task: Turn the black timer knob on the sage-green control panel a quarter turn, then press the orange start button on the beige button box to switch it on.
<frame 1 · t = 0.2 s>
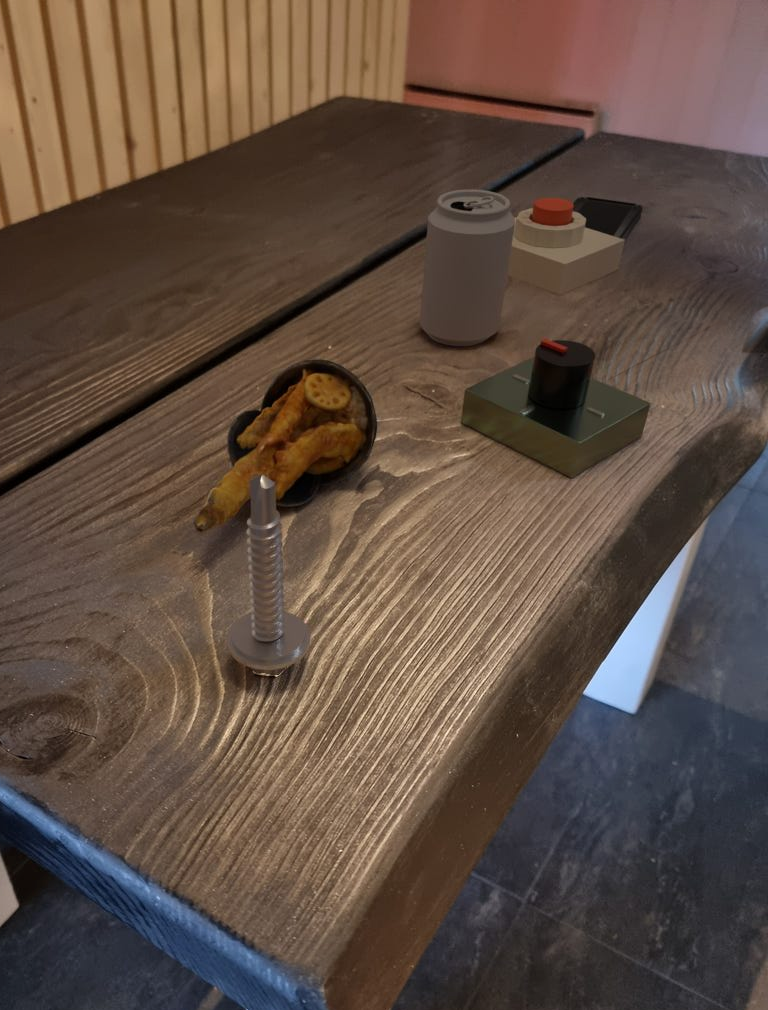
start button: (552, 212, 95), point 6 cm above the table, slide at 0.2 cm
timer panel: (549, 429, 74), on the table
beige button box: (543, 266, 99), on the table
screw: (269, 665, 55), on the table
phone: (593, 231, 107), on the table
timer knob: (561, 372, 71), point 5 cm above the table, hinge at 0.0°
can: (457, 334, 87), on the table
fried shrimp in bowl: (283, 497, 68), on the table
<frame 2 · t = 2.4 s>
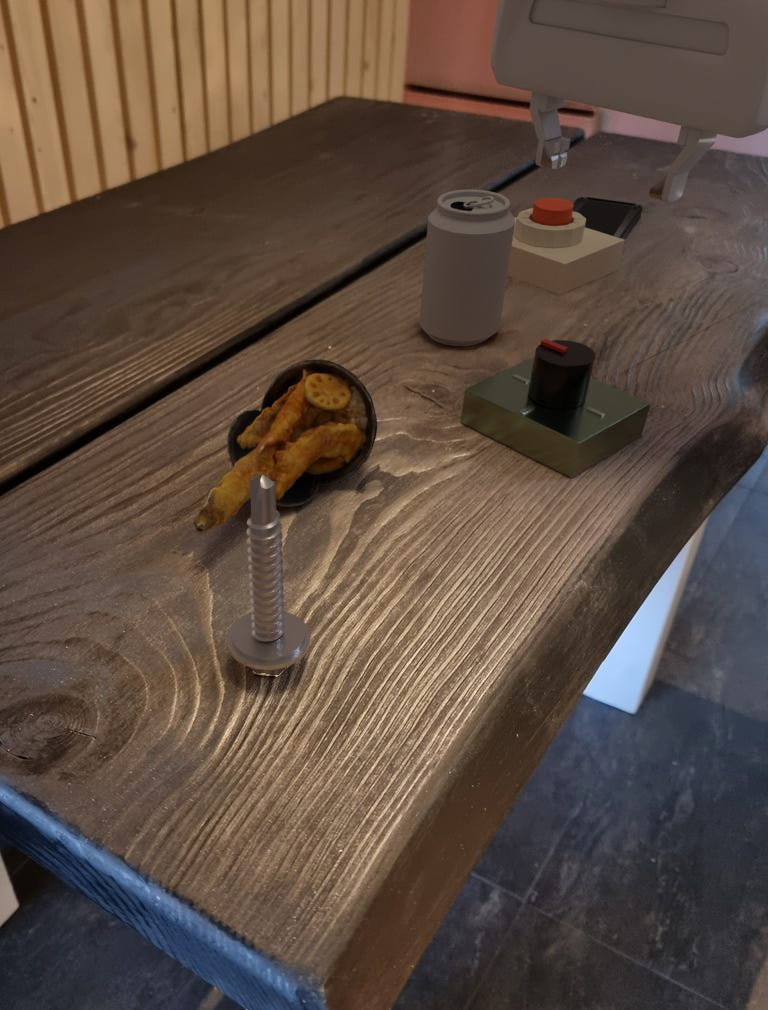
hand: (604, 181, 64), 18 cm above the table, tool pointing down, fingers open, 8 cm apart
nothing on the table moved.
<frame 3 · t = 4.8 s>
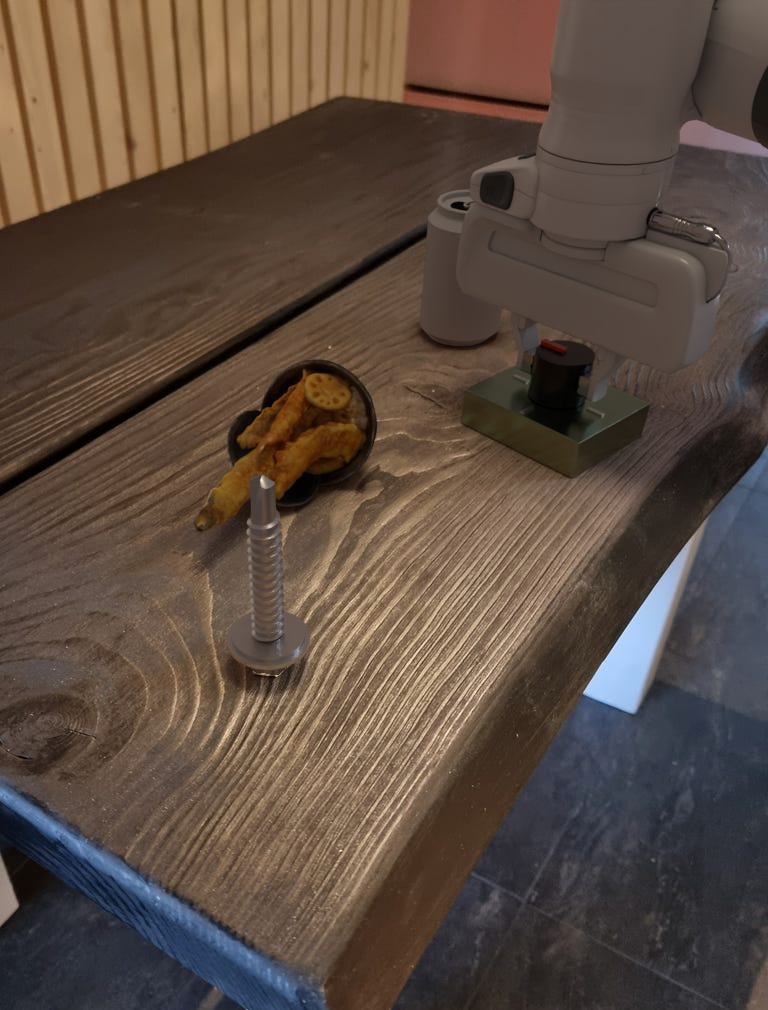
hand: (558, 383, 71), 4 cm above the table, tool pointing down, fingers closed on timer knob, 4 cm apart
timer knob: (561, 372, 71), point 5 cm above the table, hinge at 0.1°, touching gripper
everything else where it was.
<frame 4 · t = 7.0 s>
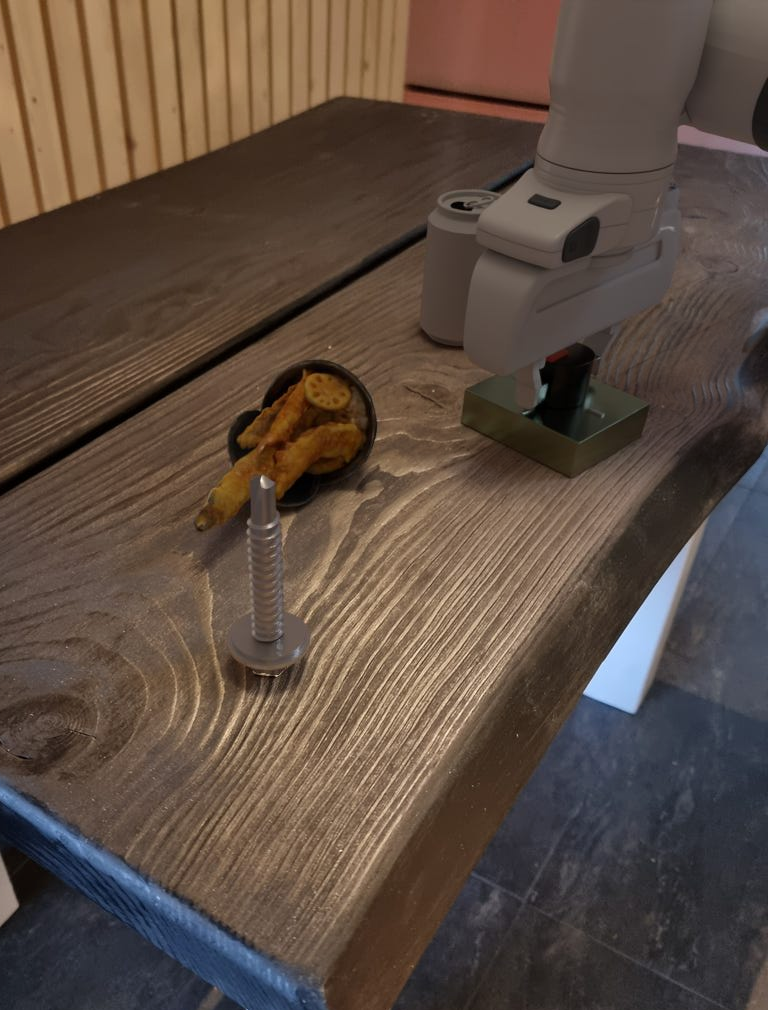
hand: (557, 389, 72), 4 cm above the table, tool pointing down, fingers open, 6 cm apart
timer knob: (561, 372, 71), point 5 cm above the table, hinge at 92.6°
everything else where it was.
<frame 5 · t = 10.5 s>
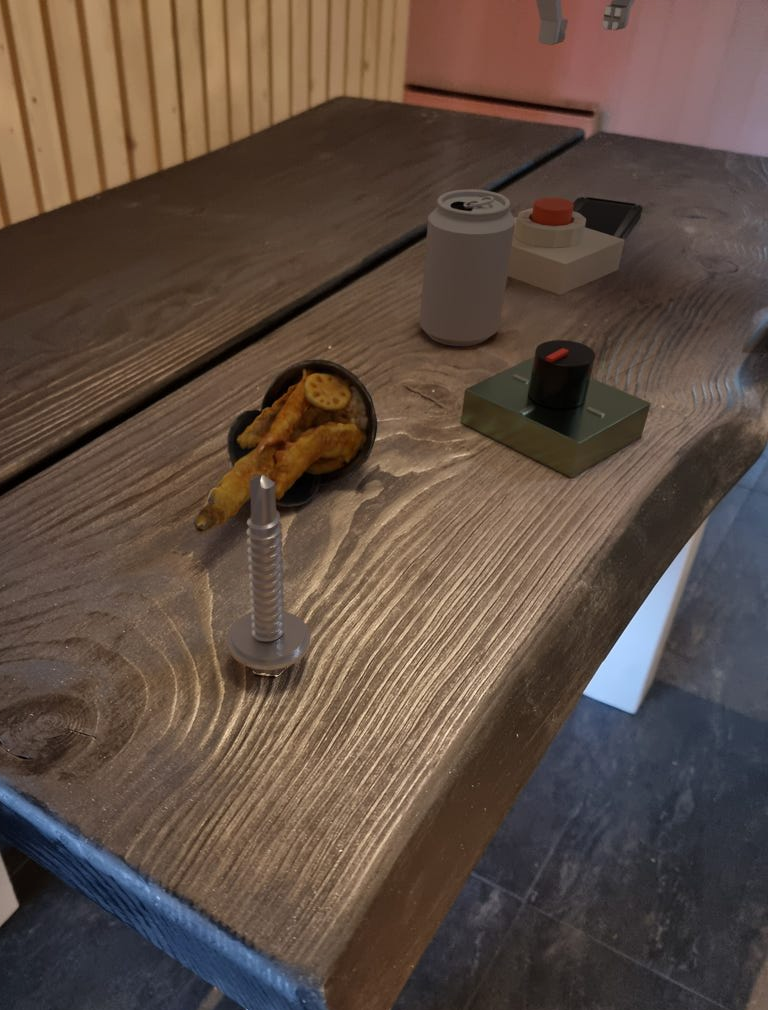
hand: (583, 36, 84), 21 cm above the table, tool pointing down, fingers open, 8 cm apart
nothing on the table moved.
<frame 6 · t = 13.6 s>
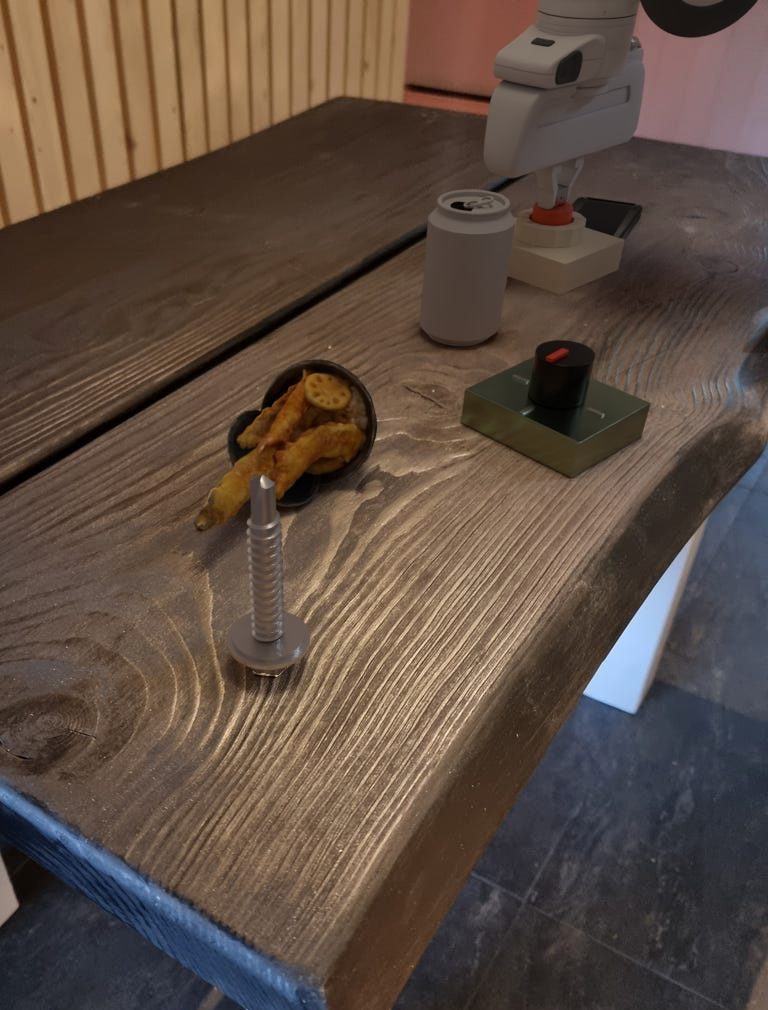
hand: (552, 205, 95), 6 cm above the table, tool pointing down, fingers closed, pressing on start button
start button: (552, 214, 95), point 5 cm above the table, slide at -0.1 cm, touching gripper
everything else where it was.
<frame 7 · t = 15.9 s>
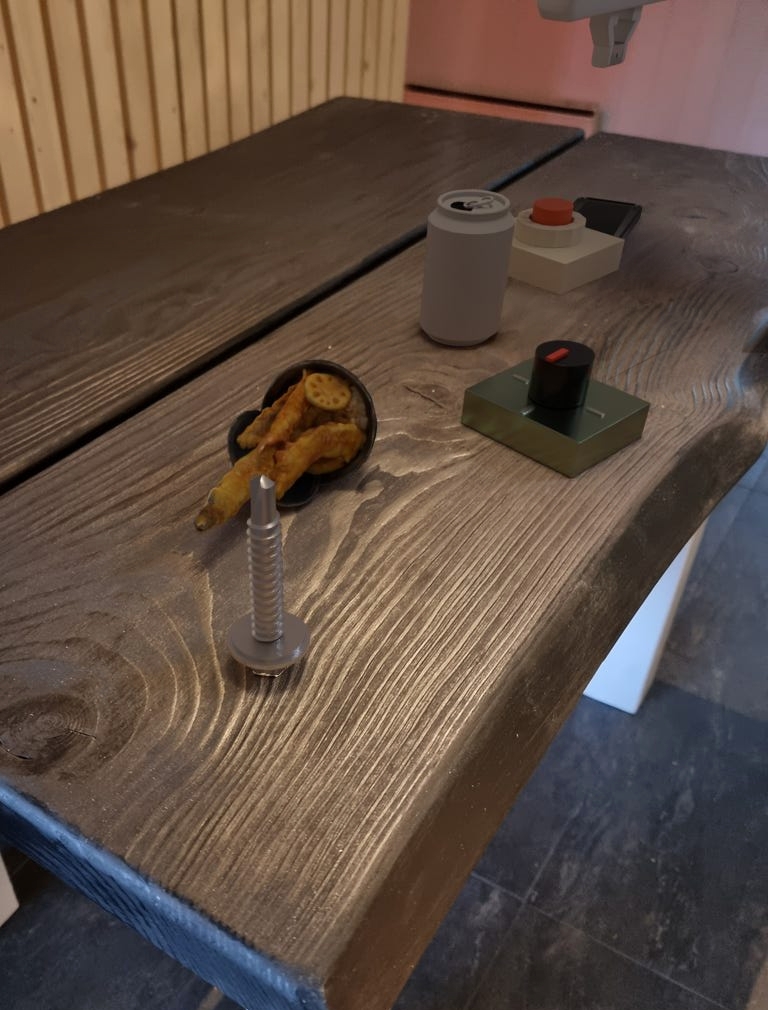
hand: (607, 65, 88), 18 cm above the table, tool pointing down, fingers closed
start button: (552, 212, 95), point 6 cm above the table, slide at 0.1 cm
everything else where it was.
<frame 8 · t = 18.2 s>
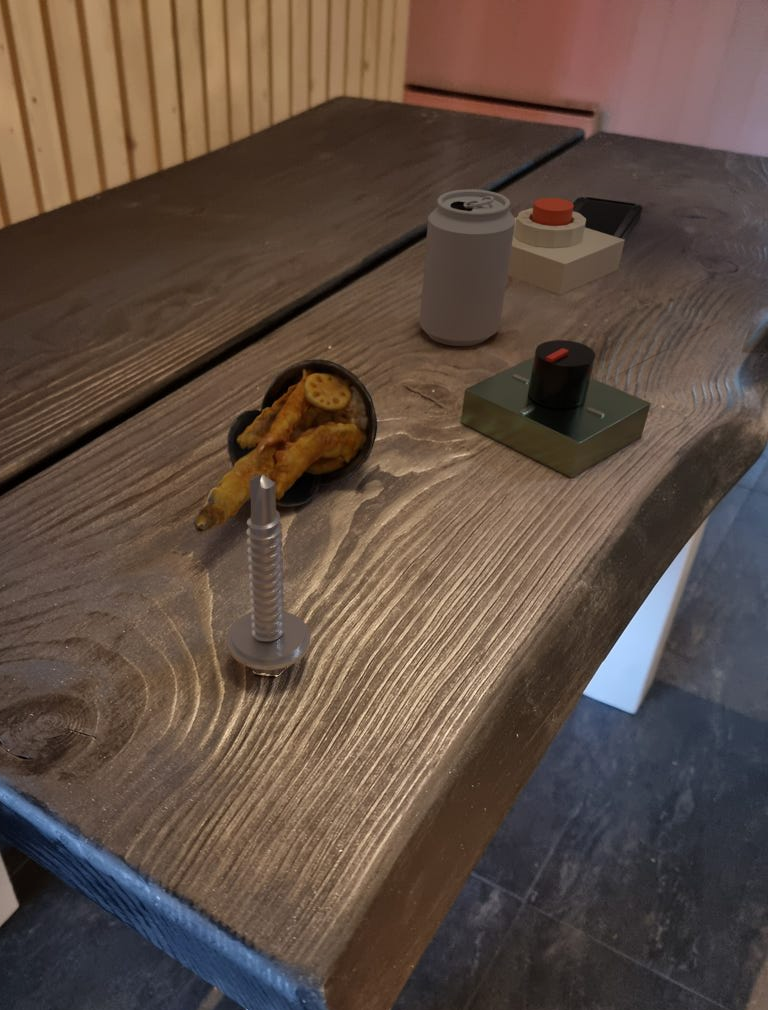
nothing on the table moved.
at the end: timer knob at +93° (first picture: +0°); start button pushed in 1.1 cm at the most during the clip, back to where it started at the end; start button slide at 0.1 cm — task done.
